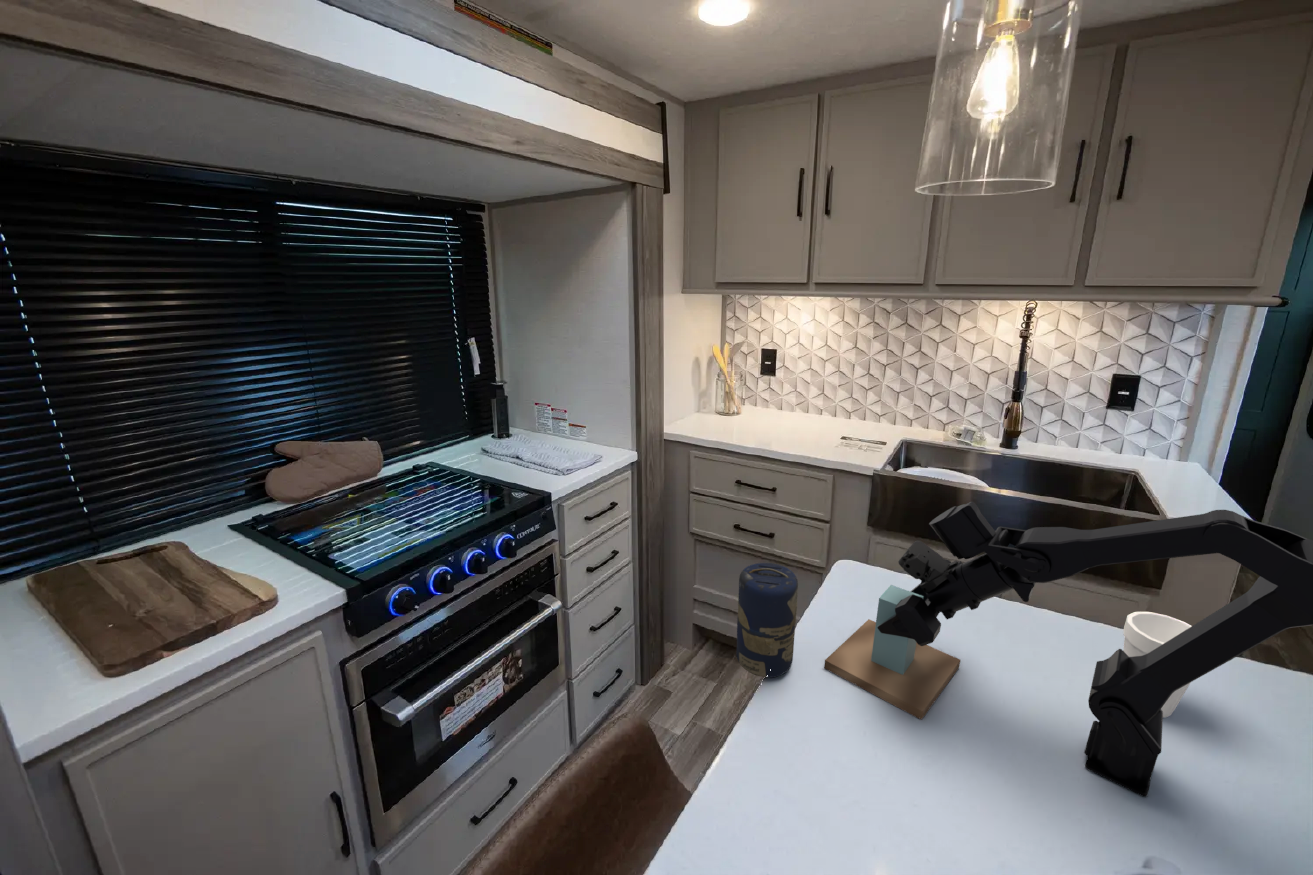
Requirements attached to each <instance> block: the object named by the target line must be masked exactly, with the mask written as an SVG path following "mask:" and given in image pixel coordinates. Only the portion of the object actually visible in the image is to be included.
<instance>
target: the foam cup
mask: <svg viewBox="0 0 1313 875" xmlns="http://www.w3.org/2000/svg"><path fill="white" fill-rule="evenodd" d="M1192 626H1193V625H1191V624H1189V623H1187V622H1185V621H1183V620H1180V619H1178V618H1175V617H1173V616H1169V615H1166V614H1162V613H1161V614H1160V613H1157V612H1151V611H1134V612H1132V613H1130V614H1129V613H1128V614H1127V616H1126V619H1125V623H1124V627H1123V636H1124V640H1123V649H1122V650H1123V651H1124V652H1125V653H1126V654H1127V655H1128V657H1135V656H1143V655H1146V654H1148V653H1150V652H1151V651H1153V650H1154V649H1156V648H1158V647H1159V646H1161V645H1162V644H1164V643H1166V642H1167V641H1169V640H1171V639H1172V638H1174V637H1175V636H1177V635H1179V634H1180V633H1182V632H1183V631H1185V630H1187V629H1188V628H1190V627H1192ZM1191 683H1192V682H1190V683H1189V684H1187V685H1185V686H1183V687H1181V688H1180V689H1178V690H1176V691H1175V692H1173V693H1172V694H1171V696H1170V697H1169V698H1168V700H1167V701H1166V702H1165V704H1164V705H1163V707H1162V708H1161V710H1162V711H1163V718H1168V717H1170V716H1172V714H1173V713H1174V711H1175V710H1176V708H1177V706H1178V705H1179V703H1180V702H1181V700H1182V698H1183V696H1184V694H1185V693H1186V691H1187V690H1188V688H1189V686H1190V684H1191Z"/></svg>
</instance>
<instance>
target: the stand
mask: <svg viewBox="0 0 1313 875" xmlns="http://www.w3.org/2000/svg"><path fill="white" fill-rule="evenodd" d="M875 626H876V621H873V620H872V619H869V618H868V619H867V620H866V621H865V622H863V623H862V625H860V626H859V628H858V629H857V630H855V632H853V633H852V634H851V635H850V636H849V637H848V638H847V639H845V641H844V642H843V643H842V644H840V645H839V646H838V647H837V648H836V649H834V651H833V652H832V653H831V654H830V655H829V656H828V657H827V658H826V659H824V664H823V665H824V667H823V668H824V669H825V670H826V671H829V672H831V673H832V674H834V675H835V676H838V677H840V678H842V679H844V680H846V681H847V682H849V683H851V684H853V685H855V686H857V687H858V688H860V689H863V690H865V691H866V692H868V693H870V694H871V695H873V696H876V697H877V698H879V699H882V700H883V701H885V702H887V703H889V704H890V705H892V706H895V707H896V708H898V709H900V710H902V711H904V712H906V713H907V714H909V715H912V716H913V717H915V718H917V719H919V720H921V721H923V719H924V718H925V716H926V715H927V714H928V712H929V710H930V709H931V708H932V706H933V705H934V704H935V702H936V700H937V699H938V698H939V696H940V695H941V694H942V692H943V691H944V689H945V688H946V687H947V686H948V684H949V683H950V681H951V680H952V678H953V677H954V676H955V675H956V673H957V672H958V670H959V669H960V666H961V659H960V658H957V657H955V656H952V655H951V654H949V653H947V652H944V651H942V650H940V649H937V648H935V647H933V646H931V645H929V644H927V645H924V646H920V645H918V643H917V642H916V649H915V655H914V659H913V661H912V662H911V664H910V665H909V667H908V668H907V670H906V671H905V673H904V674H903V675H902V674H899V673H897V672H895V671H893V670H891V669H888V668H886V667H884V666H882V665H879V664H877V663H875V662H873V661H871V657H872V649H873V642H874V634H875Z"/></svg>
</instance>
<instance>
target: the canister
mask: <svg viewBox="0 0 1313 875" xmlns="http://www.w3.org/2000/svg"><path fill="white" fill-rule="evenodd" d="M798 591H799V582H798V578H797V576H796V575H795V573H794V572H793V571H792V570H791V569H789V568H788V567H786V566H784V565H781V564H779V563H778V564H777V563H772V562H758V563H754V564H750V565H748V566H746V567H745V568H744V569H743V570H741V572H740V573H739V576H738V598H737V599H738V600H737V601H738V602H737V603H738V604H737V618H736V619H737V620H736V623H737V624H736V651H735V652H736V659H737V661H738V663H739V665H740V666H741V668H742V669H744V670H745V671H746V672H748V673H750V674H752V675H753V676H757V677H761V678H775V677H779V676H781V675H784V674H785V673H787V671H789V670H790V669H791V667H792V665H793V660H794V649H795V648H794V647H795V634H796V633H795V632H796V624H797V609H798V594H799V592H798ZM770 669H771V671H770ZM767 675H768V677H766V676H767Z"/></svg>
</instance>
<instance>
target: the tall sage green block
mask: <svg viewBox="0 0 1313 875" xmlns="http://www.w3.org/2000/svg"><path fill="white" fill-rule="evenodd" d="M910 591H911V590H907V589H904V588H901V587H900V586H899V587H898V586H895V585H893V584H890V585H889V587H888V588H886V590H885V591H884V592H883V593H882V594H881V595H880V596H879V597H878V603H877V613H876V618H875V619H876V620H875V622H876V626H875V634H874V642H873V649H872V657H871V661H873V662H875V663H877V664H879V665H882V666H884V667H886V668H888V669H891V670H893V671H895V672H897V673H899V674H902V675H903V674H904V673H905V671H906V670H907V668H908V667H909V665H910V664H911V662H912V661H913V659H914V655H915V649H916V641H915V640H914V639H910V638H906V637H901V636H895V635H889V634H883V633H881V632H880V631H879V630H878V628H877V627H878V626H879V625H880V624H882V623H883V622H884V621H886V620H887V619H889V618H890V617H892V616H893V615H895V614H896V613H895V607H896V605H897V604H898V603H899V602H900V601H901V599H902V600H903V599H905V598H906V597H908V596H910V595H912V594H913V595H916V596H919V597H922V598H924V596H921V595H919V594H916V593H913V592H910Z"/></svg>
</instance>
